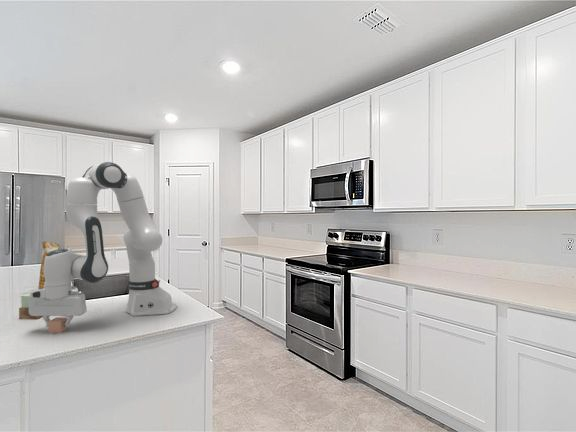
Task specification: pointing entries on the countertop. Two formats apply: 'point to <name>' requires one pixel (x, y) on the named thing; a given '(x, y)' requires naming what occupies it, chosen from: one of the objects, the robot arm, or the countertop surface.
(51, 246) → the pancake mix bag
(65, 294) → the robot arm
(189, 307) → the countertop surface
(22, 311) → the tower base
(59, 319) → the cube
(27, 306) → the tower top
